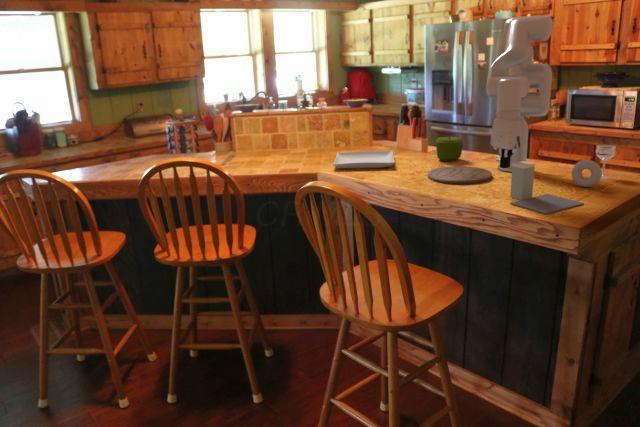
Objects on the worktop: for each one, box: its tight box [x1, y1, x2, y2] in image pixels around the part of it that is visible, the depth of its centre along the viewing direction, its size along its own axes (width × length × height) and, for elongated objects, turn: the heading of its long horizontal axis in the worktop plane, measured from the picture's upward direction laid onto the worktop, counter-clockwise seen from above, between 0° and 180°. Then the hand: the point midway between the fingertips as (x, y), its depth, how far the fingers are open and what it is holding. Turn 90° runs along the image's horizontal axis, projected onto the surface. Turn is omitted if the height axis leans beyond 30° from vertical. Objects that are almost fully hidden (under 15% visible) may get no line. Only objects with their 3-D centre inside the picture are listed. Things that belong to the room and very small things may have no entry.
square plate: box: [333, 150, 396, 170], centre depth 246 cm, size 27×27×4 cm
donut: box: [571, 159, 603, 188], centre depth 191 cm, size 10×4×10 cm, turn 48°
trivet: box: [427, 165, 493, 186], centre depth 214 cm, size 25×25×2 cm
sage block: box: [509, 161, 536, 201], centre depth 181 cm, size 5×5×12 cm
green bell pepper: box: [435, 136, 464, 162], centre depth 244 cm, size 12×12×11 cm
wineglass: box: [595, 144, 617, 180], centre depth 202 cm, size 7×7×12 cm
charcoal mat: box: [509, 193, 584, 215], centre depth 174 cm, size 14×18×1 cm
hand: (504, 167), depth 187 cm, fingers closed
